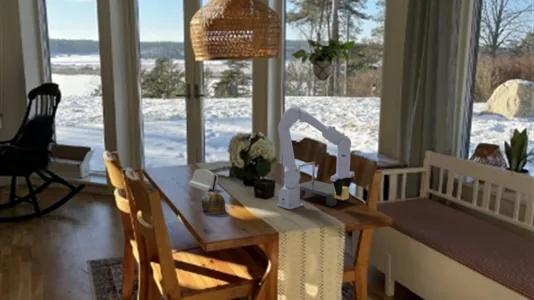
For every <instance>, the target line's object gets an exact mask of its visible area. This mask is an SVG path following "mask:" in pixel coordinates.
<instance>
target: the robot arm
mask: <svg viewBox="0 0 534 300" xmlns="http://www.w3.org/2000/svg"><path fill="white" fill-rule="evenodd" d="M298 121H299V123H307V124H308V125H310V126H311V127H312V128H314V129H316V130H318V131H319V132H321V134H322V135H321V136H322V137H323V138H324V139H325V140H327V141H328V142H330V143H331V144H332V145H334V146H335V145H336V147H337V153H336V168H335V169H336V171H335V172H336V173H335V174H333V175H331V176H330V182H331V184H332V185H334V187H335V191H336V195H337V196H341V194H342V187H343V186H346V187H349V188H350V186H351V185H352V183H353V181H354V178H353V177H355V171H350V170H351V169H350V168H351V148H352V140H351V138H350V137H349V136H348V135H346V134H345V133H344V132H343V133H341V132H340V131H338V130H337V129H336V127H335V125H333V126H332V125H325V124H324V123H322V122H321V121H320V120H318V119H317V118H316V117H315V116H313V115H312V114H310V113H309V112H308V111H306V110H304V109H302V108H300V107H299V106H298V105H292V106H290V107H289V108H288V109H286V110H285V112H283V114H282V116H281V118H280V121H279V123H278V126H277V130H278V135H279V141H280V147H281V152H282V157H283V158H282V159H283V164H284V165H283V166H284V178H283V183H284V184H283V187H282V188H281V189H279V191H278V203H277V204H276V205H277V207H280V208H284V209H287V210H293V209H296V208H300V207H303V206H304V205H305V204H304V203H300V201H301V200H300V199H301V198H300V184H301V183H300V184H299V183H298V181H299V180H301V172H300V173H299V171H298V170H297V167H298V165H297V163H296V158H295V153H294V148H293V147H294V146H293V142H292V137H291V135H292V134H291V132H290V129H291V128H292V126H293V125H294V124H295V123H296V122H298Z"/></svg>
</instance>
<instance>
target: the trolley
mask: <svg viewBox="0 0 534 300" xmlns="http://www.w3.org/2000/svg"><path fill="white" fill-rule="evenodd" d="M307 166H312V167H311V168H312V169H311V180H310V181H305V182H301V183H300V180H301V179H300V180H299V181H298V183H299V184H300V199H302V198H305V195H306V192H309V193H312V194H313V195H314V194H316V195H319V196H324V197H326V198H325V203H326V205H327V206H328V207H330V208H332V207H335V206H336V205H337V203H338V200H337V198H334V192H336V191H335V187H334V185H333V183H327V182H323V181H319V180H315V177H316V176H315V175H316V174H315V170H316V162H315V161H312V162H311V161H310V162H306V163H301V164H298V165H297V170H298V171H299V173H300V174H301V167H307ZM351 200H352V193H351V192H350V191H349V199H345V200H341V201H343V202H344V203H348V202H351Z"/></svg>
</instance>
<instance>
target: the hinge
mask: <svg viewBox="0 0 534 300" xmlns="http://www.w3.org/2000/svg"><path fill="white" fill-rule="evenodd" d="M192 175H193V176H192V177H191V180H189V182H188V186H190V187H193V188H195V189H199V190H202V191H205V192H208V193H209V192H210V190H214V191H216V190H217V186H218V180H219V176H218V175H217V174H216V173H215V172H213V171H211V170H209V169H205V168H201V169H200V168H199V169H195V170H194V172H193V174H192Z"/></svg>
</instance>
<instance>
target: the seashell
mask: <svg viewBox="0 0 534 300" xmlns="http://www.w3.org/2000/svg"><path fill="white" fill-rule="evenodd" d="M201 208H202V210H203V211H206V212H207V213H208V214H210V215H211V214H212V215H221V214H224V213H225V212H227V210H226V200H225V197H224V196H223V195H222V194H221V193H219V192H216V191H212V192H210V191H209V192H208V193H207V194H205V195H204V196H202V198H201Z"/></svg>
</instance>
